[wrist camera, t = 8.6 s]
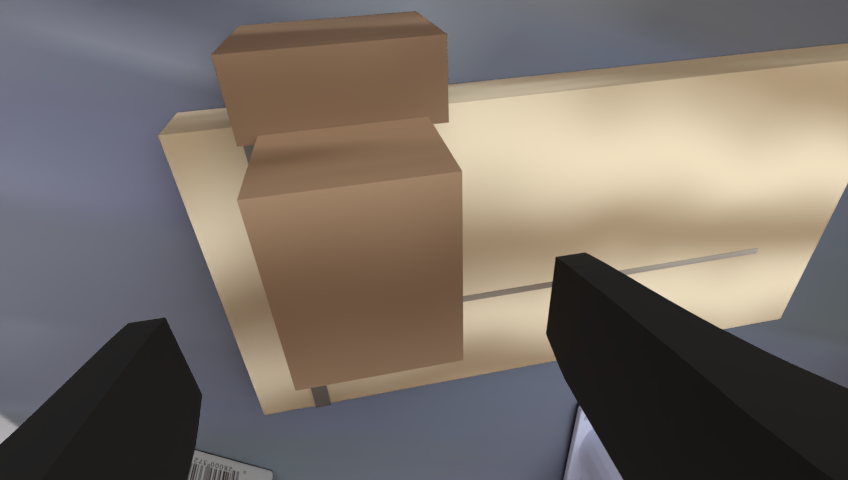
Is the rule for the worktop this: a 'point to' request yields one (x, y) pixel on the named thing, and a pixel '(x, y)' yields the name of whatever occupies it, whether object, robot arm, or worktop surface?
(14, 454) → the robot arm
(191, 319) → the worktop surface
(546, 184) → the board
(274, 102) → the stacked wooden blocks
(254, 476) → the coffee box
